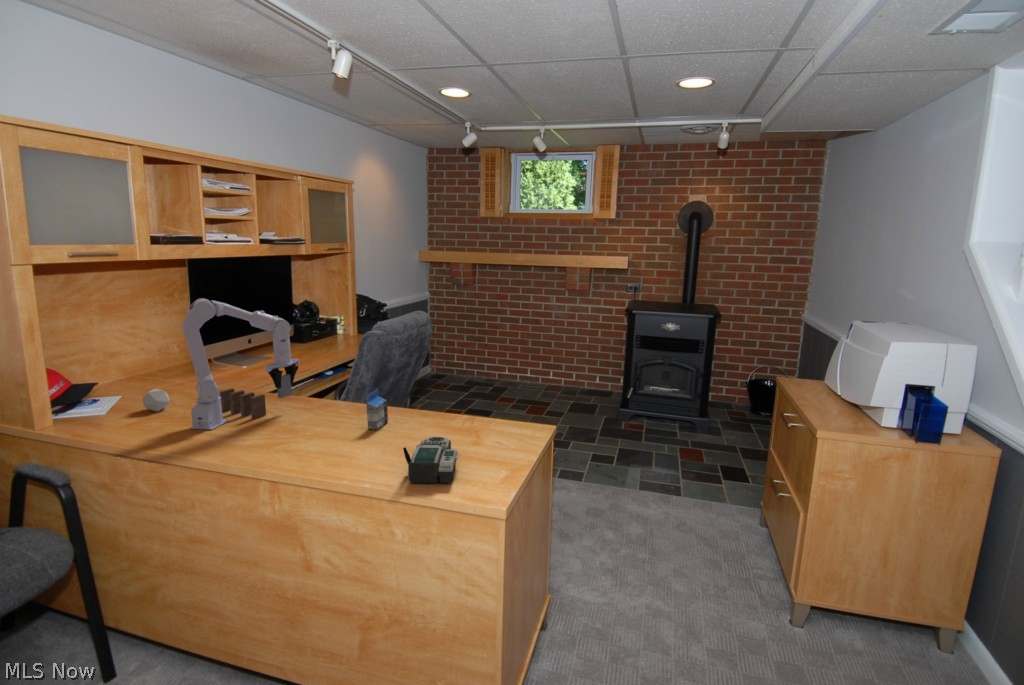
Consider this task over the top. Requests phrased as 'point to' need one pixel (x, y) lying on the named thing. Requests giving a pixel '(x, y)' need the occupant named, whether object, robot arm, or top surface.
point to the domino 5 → (285, 386)
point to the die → (156, 400)
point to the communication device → (432, 461)
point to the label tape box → (376, 411)
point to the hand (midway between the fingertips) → (284, 386)
